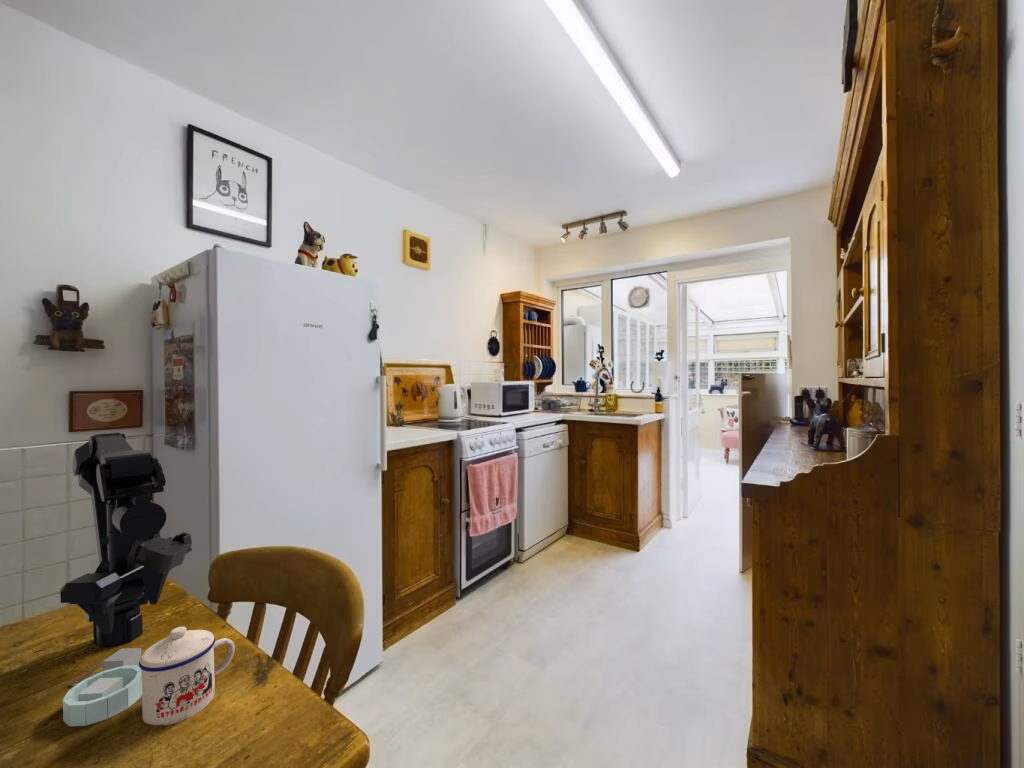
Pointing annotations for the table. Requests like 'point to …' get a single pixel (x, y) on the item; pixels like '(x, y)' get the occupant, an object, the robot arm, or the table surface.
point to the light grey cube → (101, 688)
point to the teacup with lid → (180, 675)
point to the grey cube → (123, 658)
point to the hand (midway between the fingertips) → (132, 617)
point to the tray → (85, 675)
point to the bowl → (106, 705)
